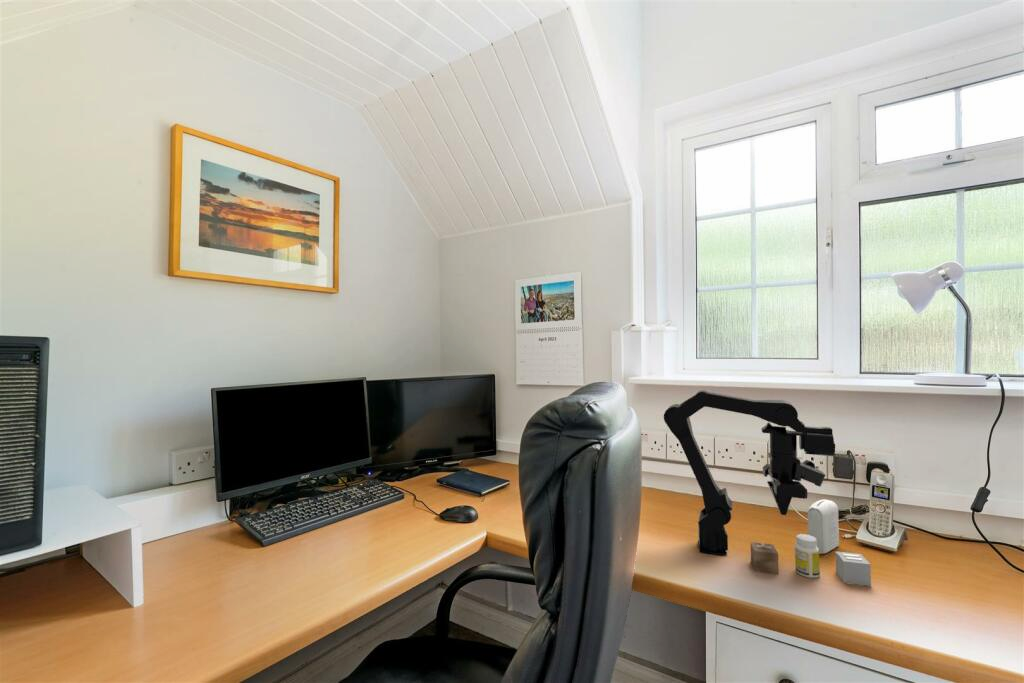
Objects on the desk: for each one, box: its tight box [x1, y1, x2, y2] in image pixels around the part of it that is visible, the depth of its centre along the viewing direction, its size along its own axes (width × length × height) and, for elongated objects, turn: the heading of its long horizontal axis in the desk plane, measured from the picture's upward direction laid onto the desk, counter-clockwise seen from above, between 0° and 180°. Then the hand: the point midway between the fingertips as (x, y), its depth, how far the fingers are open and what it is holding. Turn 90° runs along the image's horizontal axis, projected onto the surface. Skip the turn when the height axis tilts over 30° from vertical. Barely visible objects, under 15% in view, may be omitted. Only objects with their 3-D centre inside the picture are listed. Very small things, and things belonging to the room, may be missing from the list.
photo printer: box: [807, 499, 840, 555], centre depth 117 cm, size 10×4×12 cm, turn 123°
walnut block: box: [749, 541, 780, 575], centre depth 108 cm, size 5×5×5 cm
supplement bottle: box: [794, 533, 821, 579], centre depth 105 cm, size 5×5×8 cm
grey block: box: [835, 551, 872, 587], centre depth 102 cm, size 5×5×5 cm
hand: (783, 514), depth 110 cm, fingers closed
